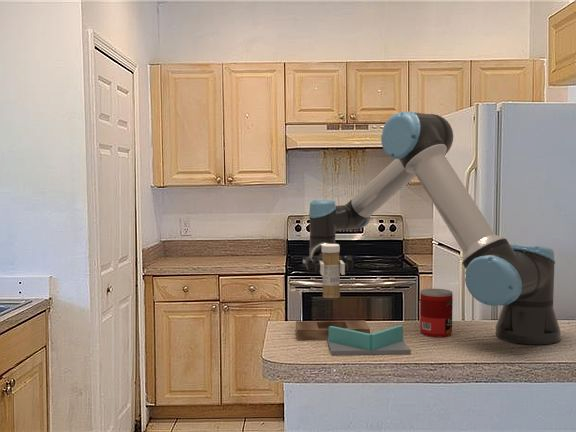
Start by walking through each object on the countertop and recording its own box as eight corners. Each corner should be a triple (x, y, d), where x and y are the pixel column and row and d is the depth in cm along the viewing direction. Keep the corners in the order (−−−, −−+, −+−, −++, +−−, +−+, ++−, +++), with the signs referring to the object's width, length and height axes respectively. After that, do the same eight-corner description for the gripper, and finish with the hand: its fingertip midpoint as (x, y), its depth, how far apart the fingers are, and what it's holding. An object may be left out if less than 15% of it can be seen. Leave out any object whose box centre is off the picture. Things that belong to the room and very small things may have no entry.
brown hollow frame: (364, 330, 173) (364, 320, 173) (370, 339, 164) (370, 329, 164) (296, 331, 173) (295, 321, 173) (297, 340, 163) (297, 330, 163)
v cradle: (400, 340, 163) (400, 322, 162) (410, 354, 151) (410, 334, 150) (327, 341, 162) (327, 323, 162) (331, 355, 150) (331, 335, 150)
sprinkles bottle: (338, 295, 170) (338, 243, 169) (341, 298, 166) (341, 245, 165) (321, 295, 170) (320, 243, 169) (323, 299, 165) (322, 245, 164)
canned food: (452, 338, 164) (453, 294, 164) (420, 336, 166) (420, 293, 165) (451, 330, 172) (451, 288, 171) (420, 329, 173) (420, 288, 173)
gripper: (356, 270, 186) (368, 284, 162) (294, 271, 185) (297, 285, 162) (356, 243, 185) (368, 253, 162) (294, 244, 185) (297, 254, 161)
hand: (333, 269), depth 162 cm, fingers closed on sprinkles bottle, 4 cm apart
